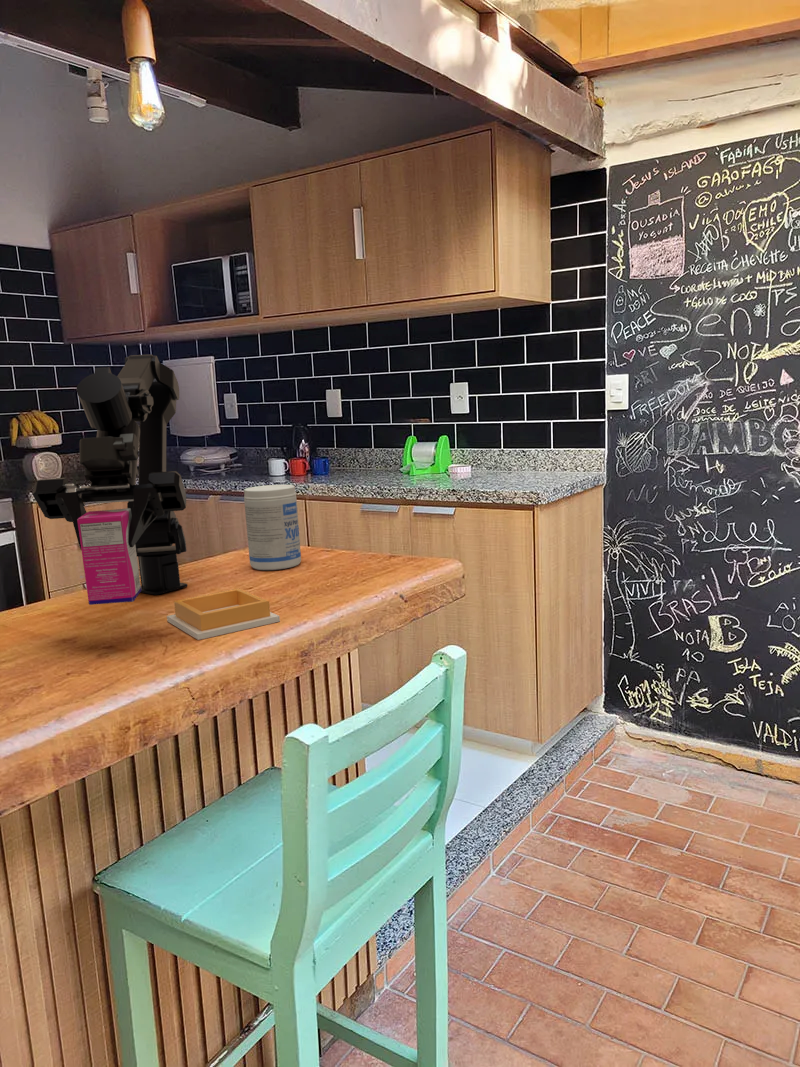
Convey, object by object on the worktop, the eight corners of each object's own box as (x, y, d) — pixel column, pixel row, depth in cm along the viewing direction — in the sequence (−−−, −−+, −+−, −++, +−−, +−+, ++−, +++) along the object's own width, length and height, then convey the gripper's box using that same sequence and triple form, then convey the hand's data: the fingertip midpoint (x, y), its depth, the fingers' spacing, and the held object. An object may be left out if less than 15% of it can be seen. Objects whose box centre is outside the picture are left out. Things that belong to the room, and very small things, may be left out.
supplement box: (97, 594, 109) (87, 510, 107) (142, 591, 110) (133, 507, 108) (86, 605, 104) (76, 517, 102) (133, 602, 104) (125, 514, 102)
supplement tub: (300, 569, 147) (294, 488, 144) (247, 573, 146) (240, 492, 143) (302, 558, 156) (296, 482, 153) (252, 562, 155) (246, 485, 153)
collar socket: (167, 621, 117) (165, 601, 117) (244, 605, 124) (242, 586, 123) (198, 640, 107) (195, 618, 107) (279, 621, 114) (278, 600, 114)
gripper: (27, 418, 105) (8, 515, 97) (173, 410, 107) (168, 505, 99) (53, 471, 115) (38, 565, 106) (188, 463, 116) (184, 555, 108)
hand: (106, 547), depth 104 cm, fingers closed on supplement box, 6 cm apart
